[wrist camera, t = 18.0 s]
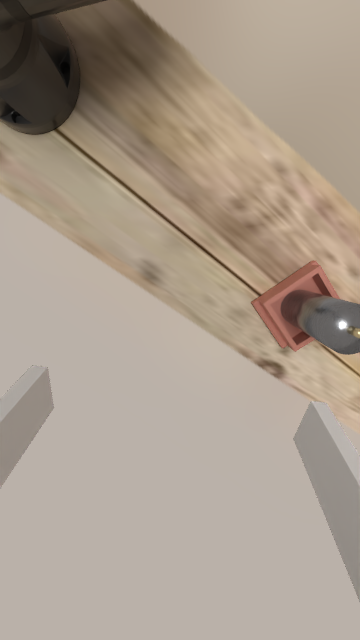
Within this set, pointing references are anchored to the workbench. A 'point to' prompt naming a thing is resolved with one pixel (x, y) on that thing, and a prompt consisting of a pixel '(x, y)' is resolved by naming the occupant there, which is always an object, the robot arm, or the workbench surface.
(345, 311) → the motor housing
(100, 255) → the workbench surface
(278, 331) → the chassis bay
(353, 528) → the robot arm
